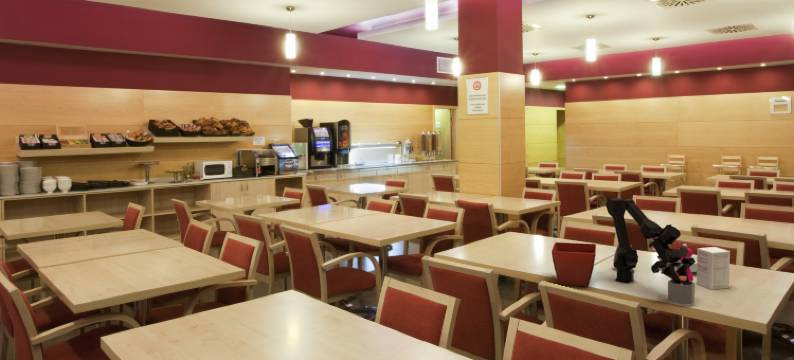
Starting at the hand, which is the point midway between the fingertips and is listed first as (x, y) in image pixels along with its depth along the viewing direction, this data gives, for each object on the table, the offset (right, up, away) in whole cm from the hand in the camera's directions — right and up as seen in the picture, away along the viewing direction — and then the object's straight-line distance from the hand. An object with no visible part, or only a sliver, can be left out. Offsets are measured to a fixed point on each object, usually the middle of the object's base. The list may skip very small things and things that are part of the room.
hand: (684, 282), depth 217 cm
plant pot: (-34, -6, +33) cm, 48 cm away
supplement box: (+25, -6, +22) cm, 34 cm away
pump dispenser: (-3, -4, +51) cm, 52 cm away
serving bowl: (+24, -3, +48) cm, 54 cm away
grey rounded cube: (0, -8, +2) cm, 9 cm away
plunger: (0, -5, +2) cm, 6 cm away
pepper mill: (+11, -6, +21) cm, 25 cm away
